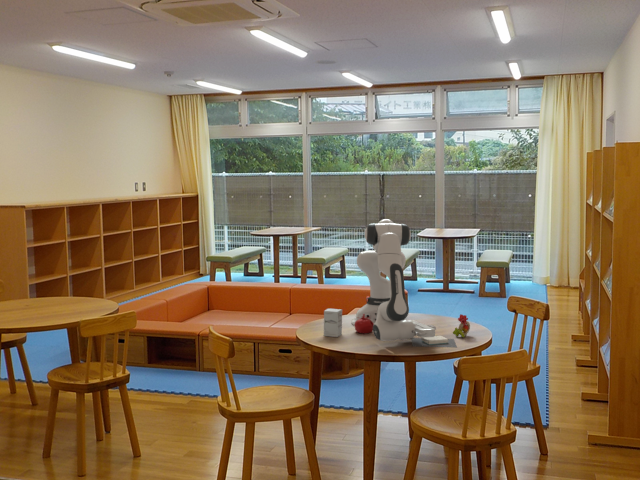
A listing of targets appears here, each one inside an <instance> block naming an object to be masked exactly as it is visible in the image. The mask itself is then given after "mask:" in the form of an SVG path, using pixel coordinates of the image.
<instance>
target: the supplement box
mask: <svg viewBox="0 0 640 480" xmlns="http://www.w3.org/2000/svg"><path fill="white" fill-rule="evenodd" d="M342 328H343V309H340V308H339V309H338V308H326V309H325V310H323V337H333V338H338V337H340V336H342V334H343V333H342V331H343V329H342Z"/></svg>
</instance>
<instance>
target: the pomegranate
mask: <svg viewBox="0 0 640 480" xmlns="http://www.w3.org/2000/svg"><path fill="white" fill-rule="evenodd" d="M358 318H359V317H358ZM367 318H368V317H366V318H365V314H363V316H362V318H361V319H359V320H357V321H356V322H355V325H354V330H355V331H356V333H359V334H364V335H365V334H367V335H368V334H370V333H373V325H374V323H373V322H372V321H371V320H370V319H367ZM369 318H370V317H369Z"/></svg>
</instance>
